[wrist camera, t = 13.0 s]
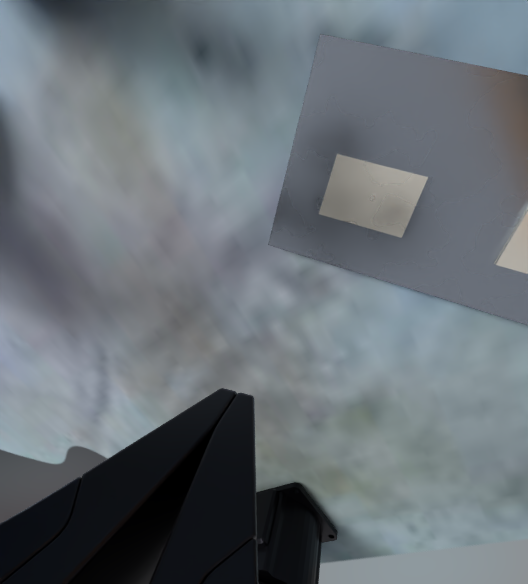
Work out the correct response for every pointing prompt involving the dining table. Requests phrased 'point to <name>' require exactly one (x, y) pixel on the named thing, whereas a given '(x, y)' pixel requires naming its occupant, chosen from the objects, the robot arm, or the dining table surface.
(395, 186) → the label plate
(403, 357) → the dining table surface
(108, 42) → the dining table surface
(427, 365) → the dining table surface
